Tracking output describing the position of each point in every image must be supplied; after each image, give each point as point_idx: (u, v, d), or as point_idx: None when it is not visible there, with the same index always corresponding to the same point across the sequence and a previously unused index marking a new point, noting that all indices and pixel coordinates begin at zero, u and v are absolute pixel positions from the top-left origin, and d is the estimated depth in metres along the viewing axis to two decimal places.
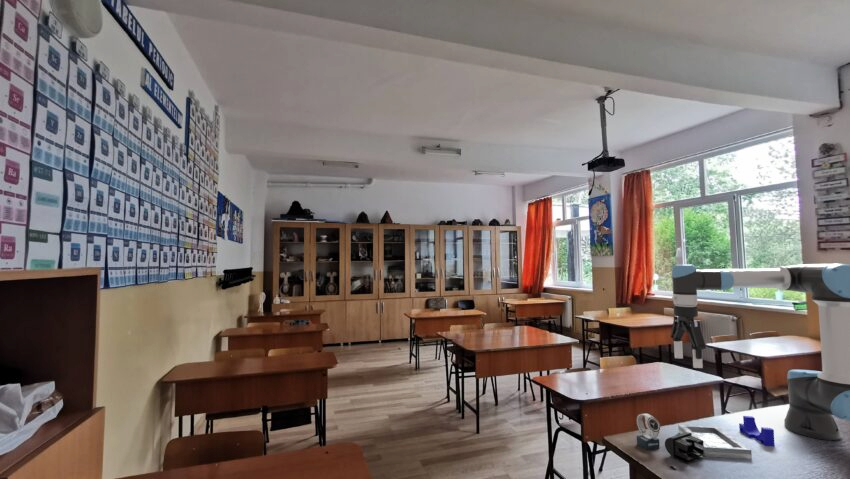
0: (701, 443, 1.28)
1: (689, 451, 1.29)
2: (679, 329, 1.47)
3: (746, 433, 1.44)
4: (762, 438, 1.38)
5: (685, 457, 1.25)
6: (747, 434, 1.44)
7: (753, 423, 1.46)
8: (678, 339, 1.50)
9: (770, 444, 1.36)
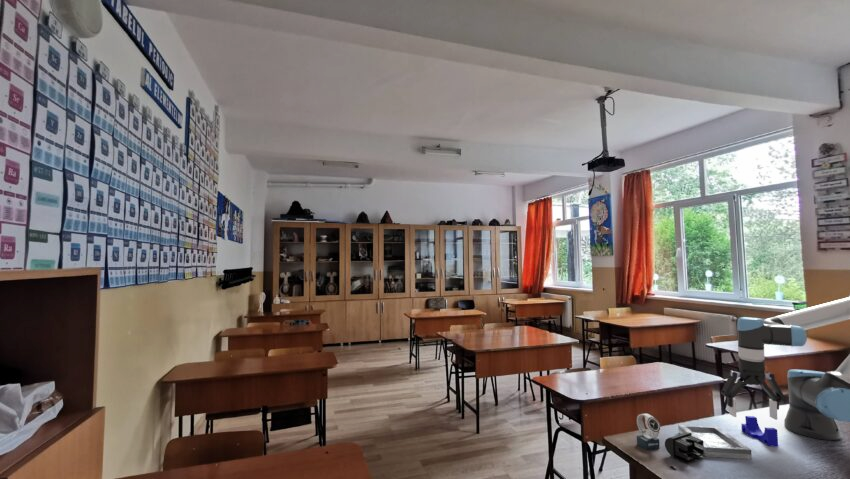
0: (701, 443, 1.28)
1: (689, 451, 1.29)
2: (759, 384, 1.44)
3: (749, 433, 1.44)
4: (765, 438, 1.37)
5: (685, 457, 1.25)
6: (750, 434, 1.43)
7: (755, 423, 1.46)
8: None
9: (774, 444, 1.36)
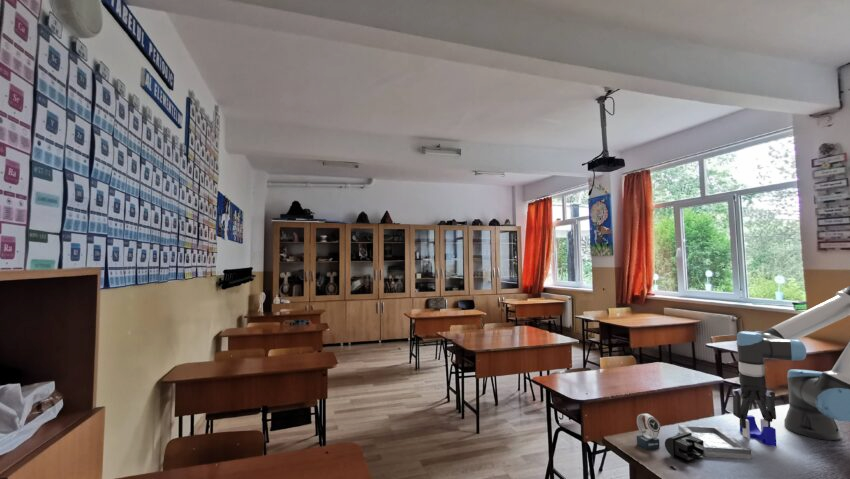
0: (701, 443, 1.28)
1: (689, 451, 1.29)
2: (756, 400, 1.44)
3: None
4: (764, 437, 1.38)
5: (685, 457, 1.25)
6: None
7: (753, 422, 1.46)
8: (766, 417, 1.42)
9: (772, 443, 1.36)
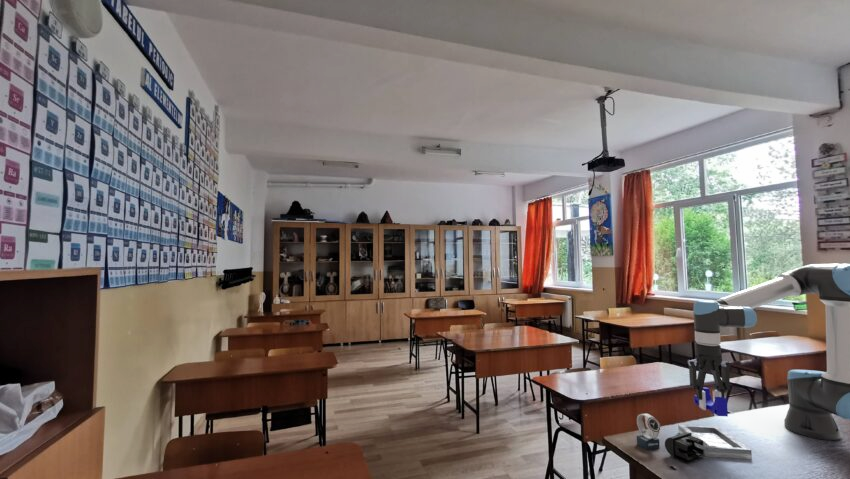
0: (701, 443, 1.28)
1: (689, 451, 1.29)
2: (711, 370, 1.39)
3: None
4: (715, 407, 1.33)
5: (685, 457, 1.25)
6: None
7: (708, 394, 1.42)
8: (719, 388, 1.37)
9: (723, 413, 1.32)
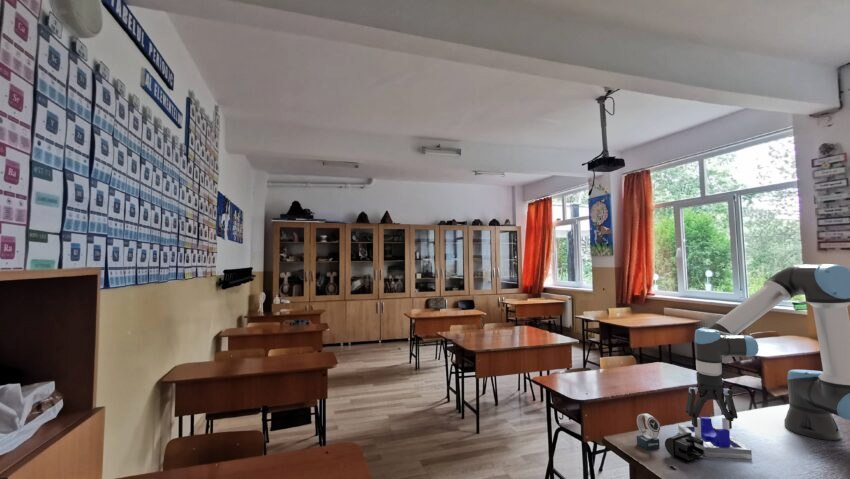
0: (701, 443, 1.28)
1: (689, 451, 1.29)
2: (715, 399, 1.39)
3: (702, 435, 1.39)
4: (718, 439, 1.33)
5: (685, 457, 1.25)
6: (703, 436, 1.39)
7: (710, 424, 1.41)
8: (727, 417, 1.36)
9: (726, 446, 1.31)
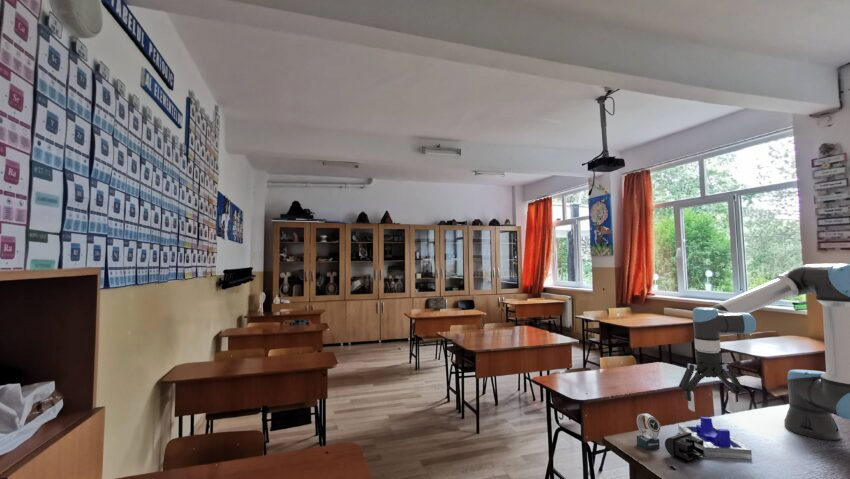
0: (701, 443, 1.28)
1: (689, 451, 1.29)
2: (717, 376, 1.39)
3: (703, 435, 1.39)
4: (718, 439, 1.33)
5: (685, 457, 1.25)
6: (704, 436, 1.39)
7: (710, 424, 1.41)
8: (733, 390, 1.37)
9: (726, 446, 1.31)
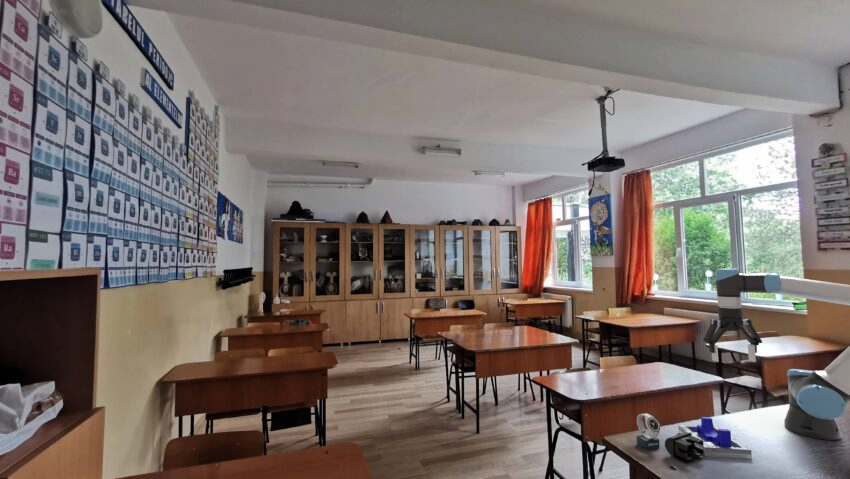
0: (701, 443, 1.28)
1: (689, 451, 1.29)
2: (738, 330, 1.53)
3: (704, 435, 1.39)
4: (719, 440, 1.33)
5: (685, 457, 1.25)
6: (704, 436, 1.39)
7: (711, 424, 1.41)
8: (752, 343, 1.51)
9: (727, 446, 1.31)
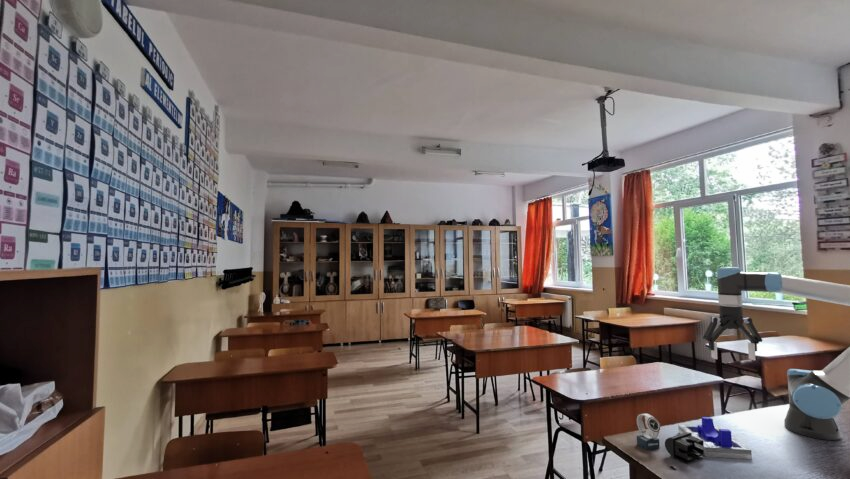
0: (701, 443, 1.28)
1: (689, 451, 1.29)
2: (738, 328, 1.54)
3: (704, 435, 1.39)
4: (719, 440, 1.33)
5: (685, 457, 1.25)
6: (705, 436, 1.39)
7: (711, 424, 1.41)
8: (752, 341, 1.52)
9: (728, 446, 1.31)
